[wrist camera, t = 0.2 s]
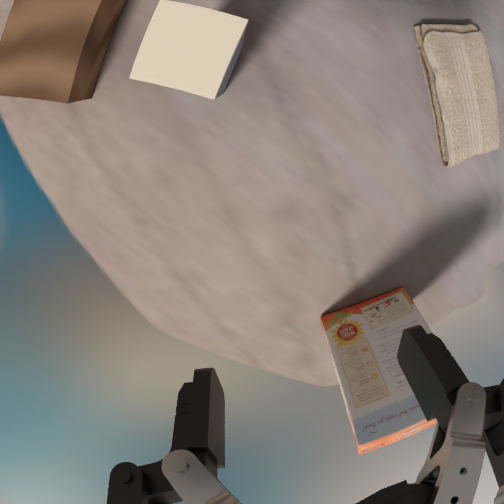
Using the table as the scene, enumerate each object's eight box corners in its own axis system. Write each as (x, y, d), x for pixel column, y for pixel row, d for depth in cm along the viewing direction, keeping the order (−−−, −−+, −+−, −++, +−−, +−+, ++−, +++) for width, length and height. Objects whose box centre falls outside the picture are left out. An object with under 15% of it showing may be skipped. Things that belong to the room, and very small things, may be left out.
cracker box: (324, 337, 44) (357, 456, 27) (319, 314, 41) (357, 446, 23) (402, 310, 42) (455, 415, 25) (403, 284, 39) (468, 397, 22)
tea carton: (195, 38, 21) (160, -1, 9) (241, 51, 22) (248, 19, 10) (178, 80, 23) (129, 78, 11) (223, 93, 24) (214, 99, 12)
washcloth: (468, 24, 18) (484, 23, 15) (492, 145, 27) (506, 152, 25) (403, 25, 20) (418, 22, 17) (437, 164, 29) (451, 173, 27)
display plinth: (43, -4, 14) (19, -10, 10) (128, -6, 17) (110, -19, 13) (15, 88, 20) (-12, 94, 16) (91, 98, 23) (67, 103, 19)
